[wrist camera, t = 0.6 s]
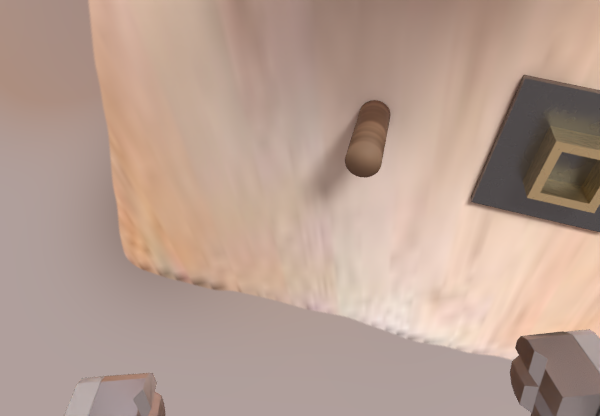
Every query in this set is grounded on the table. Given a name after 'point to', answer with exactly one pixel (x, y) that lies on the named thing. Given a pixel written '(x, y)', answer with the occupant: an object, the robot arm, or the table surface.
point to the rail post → (368, 139)
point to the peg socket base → (547, 155)
